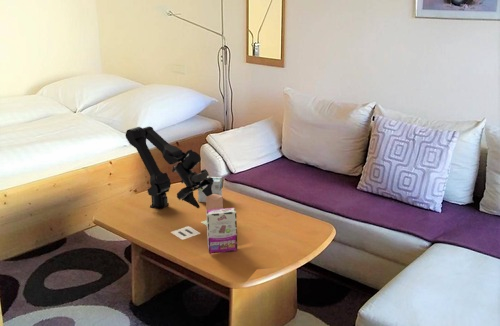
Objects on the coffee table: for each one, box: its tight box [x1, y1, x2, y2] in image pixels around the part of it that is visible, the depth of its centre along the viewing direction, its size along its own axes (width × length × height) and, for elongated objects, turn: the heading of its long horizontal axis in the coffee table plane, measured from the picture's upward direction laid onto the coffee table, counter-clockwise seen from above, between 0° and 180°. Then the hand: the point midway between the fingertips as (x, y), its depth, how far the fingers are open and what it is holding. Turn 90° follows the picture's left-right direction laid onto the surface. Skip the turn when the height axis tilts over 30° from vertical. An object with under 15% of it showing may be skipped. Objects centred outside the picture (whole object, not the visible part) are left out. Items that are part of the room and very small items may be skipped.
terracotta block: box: [205, 194, 224, 210], centre depth 232 cm, size 5×5×12 cm
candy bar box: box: [205, 207, 238, 254], centre depth 210 cm, size 11×5×16 cm, turn 101°
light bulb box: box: [197, 176, 223, 203], centre depth 258 cm, size 11×7×11 cm, turn 84°
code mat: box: [170, 219, 207, 241], centre depth 229 cm, size 26×15×1 cm, turn 130°
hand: (206, 204), depth 234 cm, fingers open, 9 cm apart
